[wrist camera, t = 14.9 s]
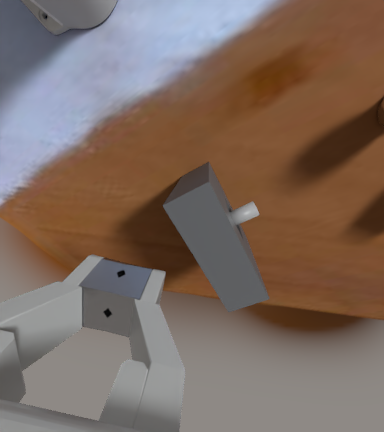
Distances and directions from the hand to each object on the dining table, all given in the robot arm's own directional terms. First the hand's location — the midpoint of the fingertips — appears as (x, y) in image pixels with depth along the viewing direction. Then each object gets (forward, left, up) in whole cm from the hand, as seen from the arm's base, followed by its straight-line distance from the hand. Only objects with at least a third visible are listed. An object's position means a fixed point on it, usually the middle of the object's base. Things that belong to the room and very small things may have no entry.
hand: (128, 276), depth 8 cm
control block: (+9, -4, -33) cm, 34 cm away
